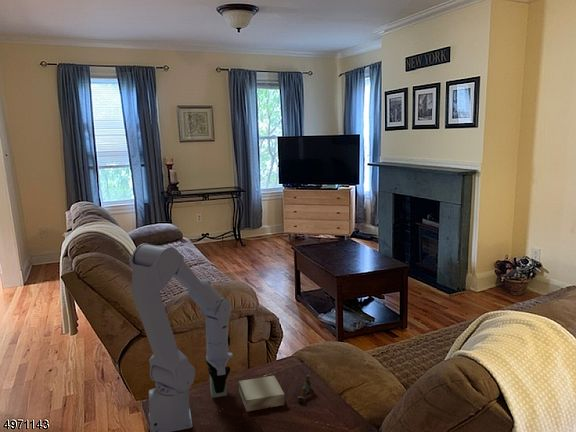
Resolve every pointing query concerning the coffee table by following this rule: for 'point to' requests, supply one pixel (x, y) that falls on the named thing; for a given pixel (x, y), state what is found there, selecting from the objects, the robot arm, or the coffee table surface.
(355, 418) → the coffee table surface
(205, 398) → the coffee table surface
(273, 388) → the beige flat square block
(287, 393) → the coffee table surface
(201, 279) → the robot arm
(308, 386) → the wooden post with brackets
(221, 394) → the sage block
